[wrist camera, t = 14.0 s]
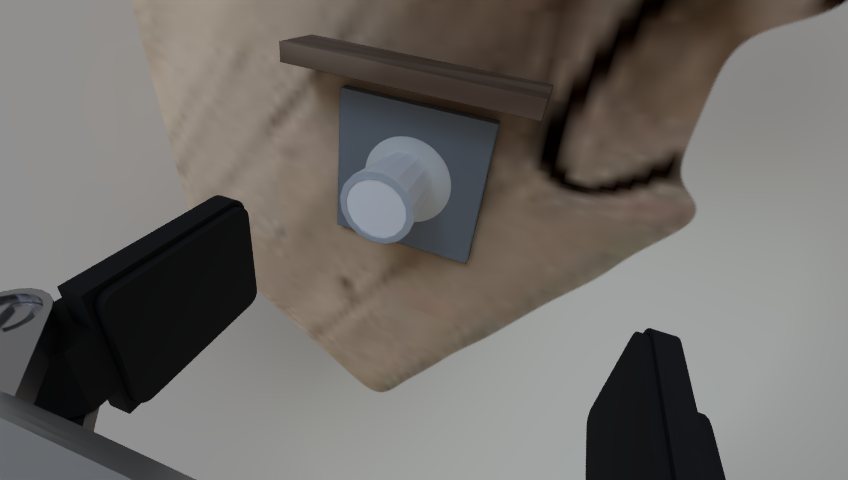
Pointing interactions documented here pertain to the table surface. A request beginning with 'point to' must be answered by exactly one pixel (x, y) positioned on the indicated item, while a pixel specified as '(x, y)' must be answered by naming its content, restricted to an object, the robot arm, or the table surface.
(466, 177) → the mat
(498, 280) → the table surface
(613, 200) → the table surface
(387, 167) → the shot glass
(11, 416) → the robot arm
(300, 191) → the table surface
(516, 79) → the divider wall
